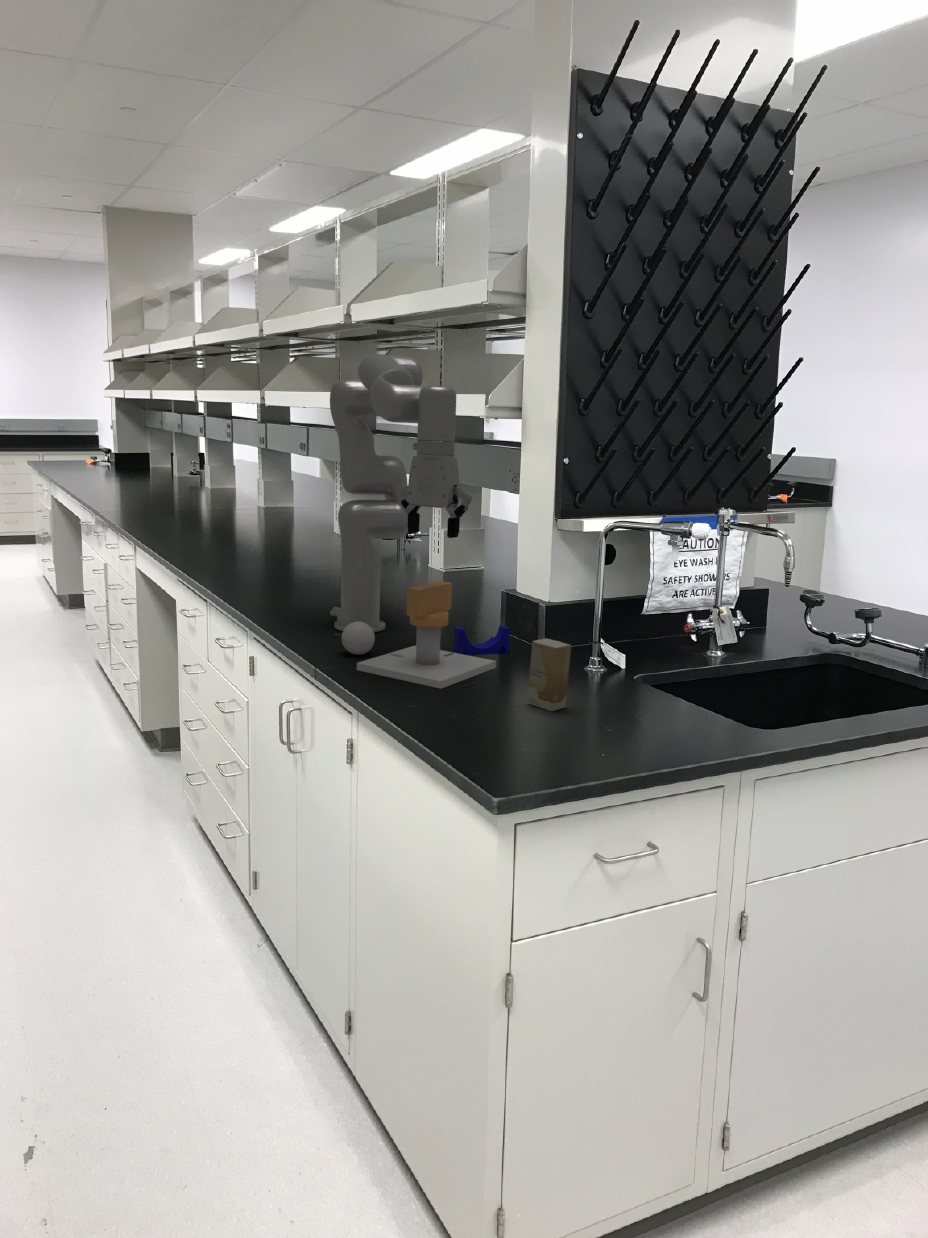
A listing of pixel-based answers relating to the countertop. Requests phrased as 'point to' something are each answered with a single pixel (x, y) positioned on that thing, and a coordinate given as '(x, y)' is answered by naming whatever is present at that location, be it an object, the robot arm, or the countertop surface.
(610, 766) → the countertop surface
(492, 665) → the coupling base
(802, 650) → the countertop surface
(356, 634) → the white ball
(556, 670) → the skincare box
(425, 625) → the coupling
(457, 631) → the cable clip
